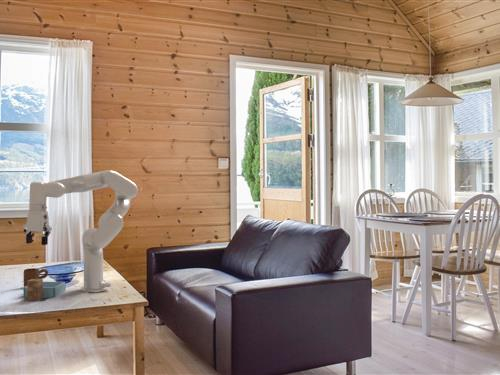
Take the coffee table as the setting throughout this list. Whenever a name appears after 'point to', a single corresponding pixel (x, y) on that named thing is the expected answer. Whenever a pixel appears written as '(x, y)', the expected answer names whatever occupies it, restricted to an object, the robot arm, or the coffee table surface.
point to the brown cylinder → (34, 289)
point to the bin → (50, 289)
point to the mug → (33, 274)
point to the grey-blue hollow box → (39, 300)
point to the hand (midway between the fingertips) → (36, 244)
